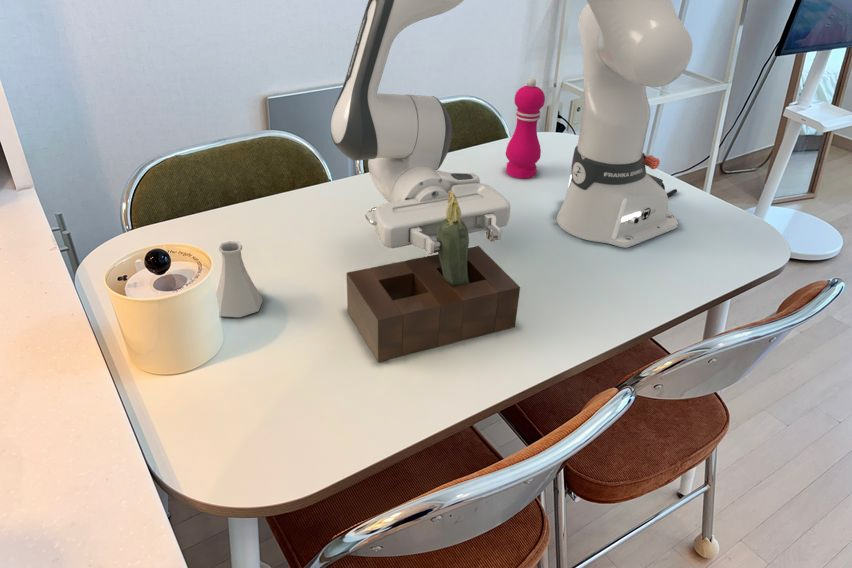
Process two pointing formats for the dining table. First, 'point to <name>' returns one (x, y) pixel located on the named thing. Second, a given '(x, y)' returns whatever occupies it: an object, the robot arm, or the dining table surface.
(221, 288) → the flask
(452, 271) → the vegetable
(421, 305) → the holder
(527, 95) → the pepper mill
